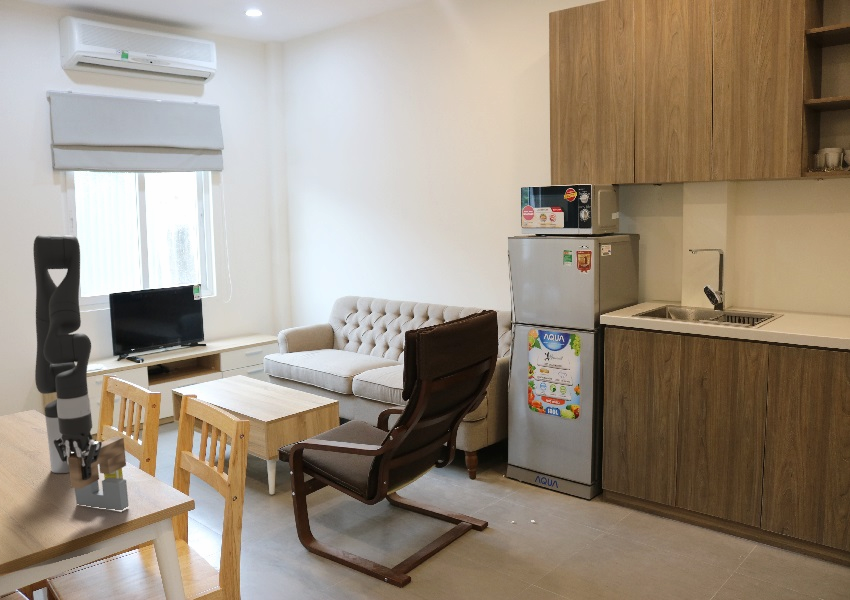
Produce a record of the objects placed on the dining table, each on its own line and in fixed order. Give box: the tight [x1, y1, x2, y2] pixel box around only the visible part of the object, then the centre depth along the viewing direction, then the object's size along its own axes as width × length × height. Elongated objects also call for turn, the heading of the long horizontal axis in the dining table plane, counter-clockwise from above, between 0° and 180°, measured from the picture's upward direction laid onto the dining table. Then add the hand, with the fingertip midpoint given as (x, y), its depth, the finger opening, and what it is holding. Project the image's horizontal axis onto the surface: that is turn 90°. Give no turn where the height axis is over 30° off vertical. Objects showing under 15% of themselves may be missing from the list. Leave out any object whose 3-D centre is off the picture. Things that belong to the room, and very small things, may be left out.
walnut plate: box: [68, 436, 127, 489], centre depth 188 cm, size 16×3×8 cm, turn 160°
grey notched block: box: [74, 477, 129, 510], centre depth 190 cm, size 15×2×8 cm, turn 71°
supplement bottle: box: [103, 468, 124, 480], centre depth 205 cm, size 5×5×8 cm
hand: (81, 477), depth 183 cm, fingers closed on walnut plate, 3 cm apart
